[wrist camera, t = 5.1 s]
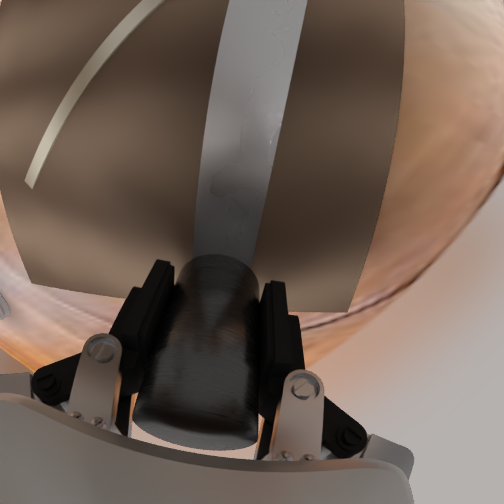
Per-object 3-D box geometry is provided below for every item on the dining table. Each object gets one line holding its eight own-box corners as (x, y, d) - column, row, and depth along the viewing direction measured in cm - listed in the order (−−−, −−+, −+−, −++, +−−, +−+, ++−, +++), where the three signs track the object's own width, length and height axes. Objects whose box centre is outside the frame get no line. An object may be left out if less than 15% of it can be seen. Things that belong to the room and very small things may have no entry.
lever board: (35, -46, 3) (18, -50, 1) (374, -88, 3) (387, -102, 1) (44, 267, 17) (30, 284, 15) (340, 290, 17) (348, 314, 15)
